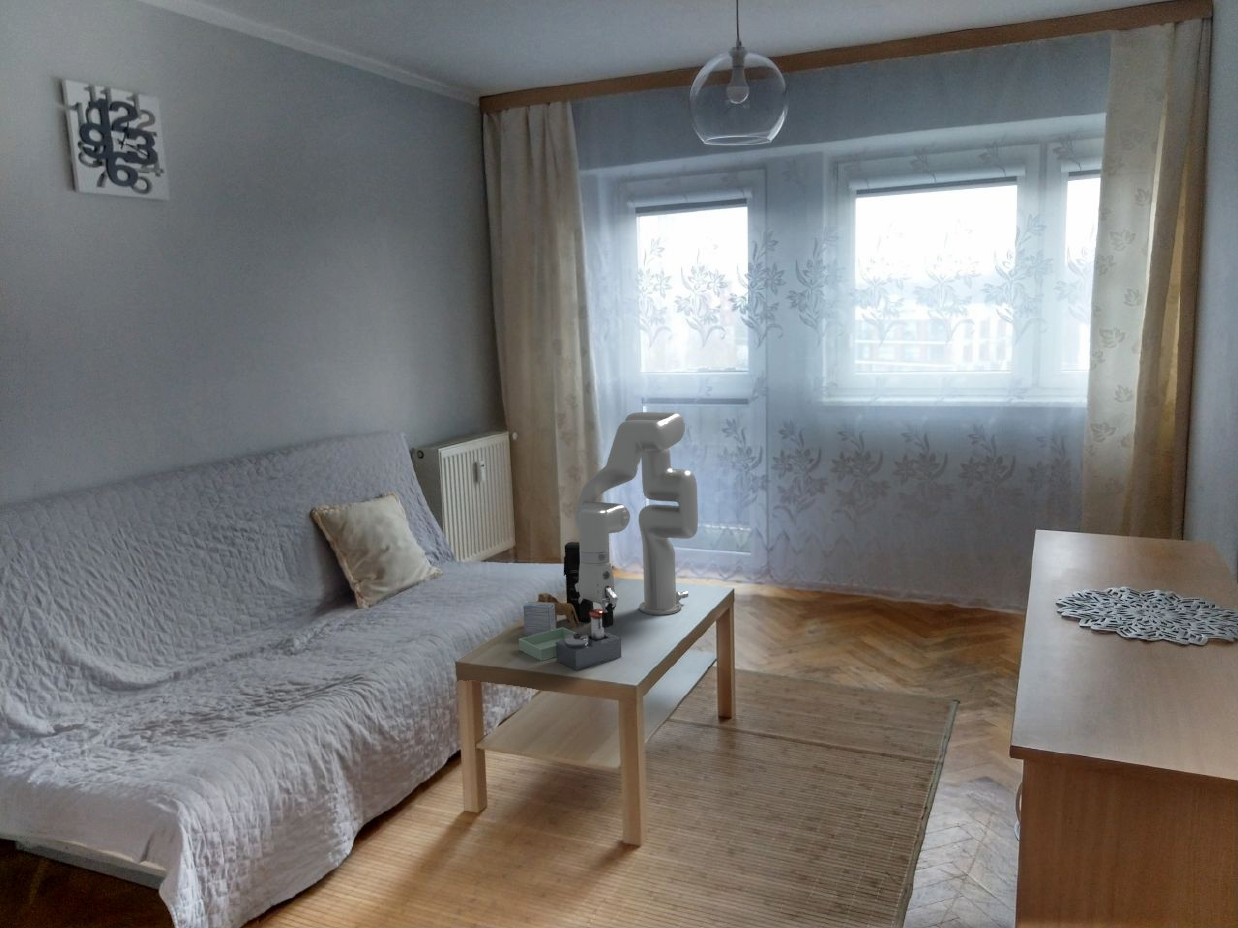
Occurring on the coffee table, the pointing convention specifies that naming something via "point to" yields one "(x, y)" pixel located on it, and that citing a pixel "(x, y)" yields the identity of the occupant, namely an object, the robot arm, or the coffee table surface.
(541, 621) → the medicine box
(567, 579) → the portable radio
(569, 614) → the lion figurine
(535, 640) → the tray
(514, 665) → the coffee table surface
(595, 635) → the pin
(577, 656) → the block
